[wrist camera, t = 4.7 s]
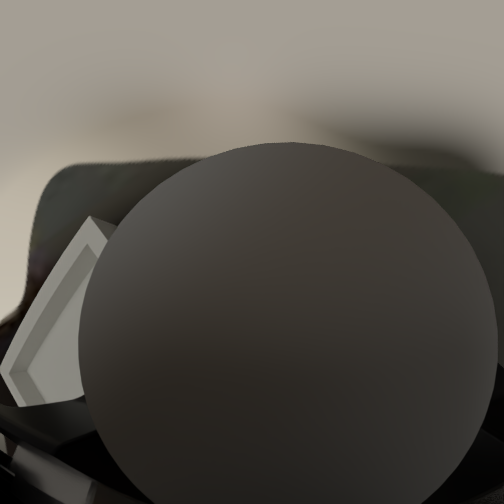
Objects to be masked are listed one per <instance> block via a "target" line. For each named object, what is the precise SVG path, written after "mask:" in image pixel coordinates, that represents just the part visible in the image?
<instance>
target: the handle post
mask: <svg viewBox="0 0 504 504" xmlns="http://www.w3.org/2000/svg"><path fill="white" fill-rule="evenodd" d="M78 360H79V368H80V376H81V383H82V387H83V391H84V395H85V399H86V403H87V406H88V409H89V412H90V415H91V417H92V420H93V422H94V425H95V427H96V429H97V432H98V433H99V435H100V437H101V439H102V441H103V443H104V445H105V446H106V448H107V450H108V452H109V453H110V455H111V456H112V458H113V459H114V460H115V462H116V463H117V465H118V466H119V467H120V469H121V470H122V471H123V473H124V474H125V475H126V476H127V477H128V478H129V479H130V481H131V482H132V483H133V484H134V485H135V486H136V487H137V488H138V489H139V490H140V491H141V492H142V493H143V494H144V495H145V496H147V497H148V498H149V499H150V500H151V501H152V502H153V503H155V504H421V503H422V502H424V501H425V500H426V499H427V498H428V497H429V496H430V495H432V494H433V493H434V492H435V491H436V490H437V489H438V488H439V487H440V486H441V485H442V484H443V483H444V482H445V481H446V479H447V478H448V477H449V476H450V475H451V474H452V472H453V471H454V470H455V469H456V468H457V466H458V465H459V464H460V462H461V461H462V459H463V458H464V456H465V454H466V453H467V451H468V450H469V448H470V447H471V445H472V443H473V442H474V440H475V438H476V435H477V433H478V431H479V429H480V427H481V425H482V422H483V420H484V418H485V415H486V412H487V409H488V406H489V403H490V399H491V396H492V392H493V389H494V383H495V376H496V369H497V362H498V329H497V322H496V315H495V309H494V303H493V299H492V296H491V292H490V289H489V286H488V283H487V279H486V276H485V273H484V271H483V269H482V267H481V265H480V263H479V261H478V258H477V256H476V254H475V252H474V250H473V248H472V246H471V245H470V243H469V242H468V240H467V239H466V237H465V236H464V234H463V233H462V232H461V230H460V229H459V227H458V226H457V224H456V223H455V222H454V220H453V219H452V218H451V217H450V216H449V215H448V214H447V213H446V212H445V211H444V209H443V208H442V207H441V206H440V205H439V204H438V203H437V202H436V201H435V200H434V199H433V198H432V197H431V196H429V195H428V194H427V193H426V192H424V191H423V190H422V189H421V188H419V187H418V186H417V185H416V184H414V183H413V182H412V181H410V180H409V179H407V178H406V177H404V176H402V175H401V174H399V173H397V172H396V171H394V170H392V169H390V168H389V167H387V166H385V165H383V164H381V163H379V162H376V161H374V160H371V159H369V158H366V157H364V156H361V155H359V154H356V153H353V152H349V151H346V150H342V149H337V148H333V147H329V146H325V145H315V144H306V143H295V142H290V143H267V144H266V143H265V144H258V145H253V146H247V147H242V148H237V149H233V150H229V151H226V152H223V153H220V154H217V155H214V156H211V157H208V158H206V159H204V160H201V161H199V162H197V163H195V164H193V165H191V166H189V167H187V168H185V169H183V170H181V171H179V172H178V173H176V174H175V175H173V176H172V177H170V178H169V179H167V180H165V181H164V182H162V183H161V184H159V185H158V186H157V187H156V188H155V189H153V190H152V191H151V192H150V193H149V194H148V195H146V196H145V197H144V198H143V199H142V200H141V201H139V202H138V204H137V205H136V206H135V207H134V208H133V209H132V210H131V211H130V212H129V213H128V215H127V216H126V217H125V218H124V219H123V220H122V221H121V223H120V224H119V225H118V227H117V228H116V230H115V231H114V233H113V234H112V236H111V237H110V238H109V240H108V241H107V243H106V245H105V247H104V249H103V250H102V252H101V254H100V256H99V258H98V260H97V262H96V264H95V266H94V269H93V272H92V274H91V277H90V280H89V282H88V285H87V288H86V292H85V296H84V300H83V304H82V309H81V314H80V323H79V333H78Z"/></svg>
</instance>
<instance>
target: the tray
mask: <svg viewBox="0 0 504 504" xmlns="http://www.w3.org/2000/svg"><path fill="white" fill-rule="evenodd" d="M116 228H117V226H116V225H113V224H111V223H108V222H105V221H102V220H100V219H97V218H94V217H91V216H89V217H88V218H87V220H86V221H85V222H84V224H83V225H82V227H81V228H80V229H79V231H78V232H77V234H76V235H75V237H74V238H73V240H72V241H71V242H70V244H69V245H68V247H67V248H66V250H65V251H64V253H63V254H62V256H61V257H60V259H59V260H58V262H57V264H56V265H55V267H54V268H53V270H52V271H51V273H50V275H49V276H48V278H47V280H46V281H45V283H44V284H43V286H42V288H41V289H40V291H39V293H38V295H37V296H36V298H35V300H34V302H33V303H32V305H31V307H30V309H29V310H28V312H27V314H26V316H25V318H24V320H23V321H22V323H21V325H20V327H19V329H18V331H17V333H16V335H15V337H14V339H13V341H12V343H11V345H10V347H9V349H8V351H7V353H6V355H5V357H4V360H3V362H2V364H1V366H0V373H1V375H2V377H3V379H4V380H5V382H6V384H7V386H8V388H9V390H10V392H11V393H12V395H13V397H14V399H15V400H16V402H17V404H18V406H19V407H25V406H33V405H40V404H47V403H54V402H61V401H67V400H72V399H75V398H78V397H80V396H82V395H84V391H83V387H82V383H81V376H80V368H79V360H78V333H79V323H80V314H81V309H82V304H83V300H84V296H85V292H86V288H87V285H88V282H89V280H90V277H91V274H92V272H93V269H94V266H95V264H96V262H97V260H98V258H99V256H100V254H101V252H102V250H103V249H104V247H105V245H106V243H107V241H108V240H109V238H110V237H111V236H112V234H113V233H114V231H115V230H116Z"/></svg>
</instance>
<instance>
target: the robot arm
mask: <svg viewBox="0 0 504 504" xmlns="http://www.w3.org/2000/svg"><path fill="white" fill-rule="evenodd" d="M0 433H2V434H3V435H4V436H6V437H7V438H8V439H10V440H11V441H13V442H14V443H16V444H17V445H18V446H17V449H16V451H15V453H14V456H13V458H12V457H10V456H9V455H7V454H6V453H4V452H3V451H1V450H0V504H155V503H153V502H152V501H151V500H150V499H149V498H148V497H147V496H145V495H144V494H143V493H142V492H141V491H140V490H139V489H138V488H137V487H136V486H135V485H134V484H133V483H132V482H131V481H130V479H129V478H128V477H127V476H126V475H125V474H124V473H123V471H122V470H121V469H120V467H119V466H118V465H117V463H116V462H115V460H114V459H113V458H112V456H111V455H110V453H109V452H108V450H107V448H106V446H105V445H104V443H103V441H102V439H101V437H100V435H99V433H98V432H97V429H96V427H95V425H94V422H93V420H92V417H91V415H90V412H89V409H88V406H87V403H86V399H85V395H82V396H80V397H78V398H75V399H72V400H67V401H61V402H54V403H47V404H40V405H33V406H25V407H8V406H4V405H2V404H0ZM421 504H504V368H503V367H502V366H501V365H500V364H499V363H498V362H497V369H496V376H495V383H494V389H493V392H492V396H491V399H490V403H489V406H488V409H487V412H486V415H485V418H484V420H483V422H482V425H481V427H480V429H479V431H478V433H477V435H476V438H475V440H474V442H473V443H472V445H471V447H470V448H469V450H468V451H467V453H466V454H465V456H464V458H463V459H462V461H461V462H460V464H459V465H458V466H457V468H456V469H455V470H454V471H453V472H452V474H451V475H450V476H449V477H448V478H447V479H446V481H445V482H444V483H443V484H442V485H441V486H440V487H439V488H438V489H437V490H436V491H435V492H434V493H433V494H432V495H430V496H429V497H428V498H427V499H426V500H425V501H424V502H422V503H421Z"/></svg>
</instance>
